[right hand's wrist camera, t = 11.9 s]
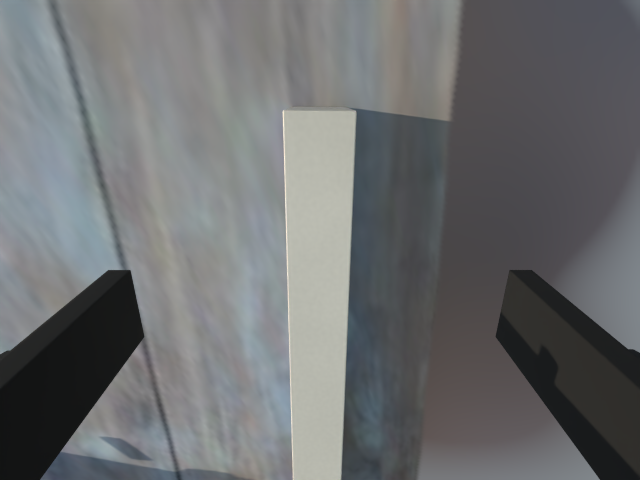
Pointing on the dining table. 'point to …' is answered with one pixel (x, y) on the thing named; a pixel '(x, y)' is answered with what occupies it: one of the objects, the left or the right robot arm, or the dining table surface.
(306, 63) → the dining table surface
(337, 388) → the post
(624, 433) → the right robot arm
